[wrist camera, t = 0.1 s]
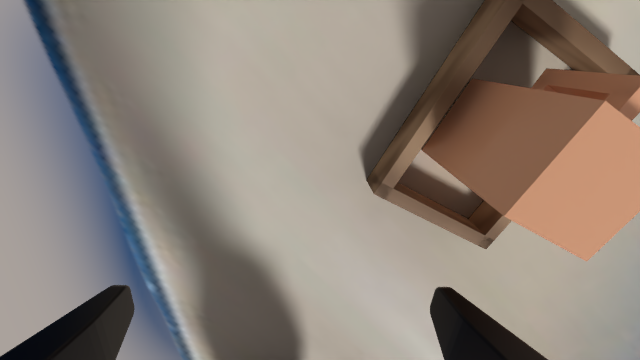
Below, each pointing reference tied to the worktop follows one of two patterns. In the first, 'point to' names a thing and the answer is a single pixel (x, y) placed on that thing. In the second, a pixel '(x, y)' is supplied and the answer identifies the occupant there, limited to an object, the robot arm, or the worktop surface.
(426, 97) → the frame
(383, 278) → the worktop surface
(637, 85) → the peach box with tab
